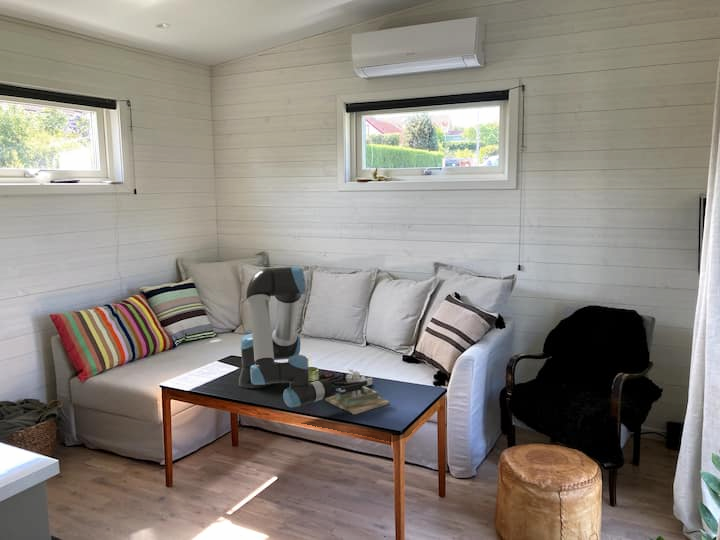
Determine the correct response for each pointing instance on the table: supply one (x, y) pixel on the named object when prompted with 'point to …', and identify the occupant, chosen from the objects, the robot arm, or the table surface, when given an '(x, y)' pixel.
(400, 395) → the table surface
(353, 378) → the hat wearing toy figure
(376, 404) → the jig board
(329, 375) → the toy motorcycle
